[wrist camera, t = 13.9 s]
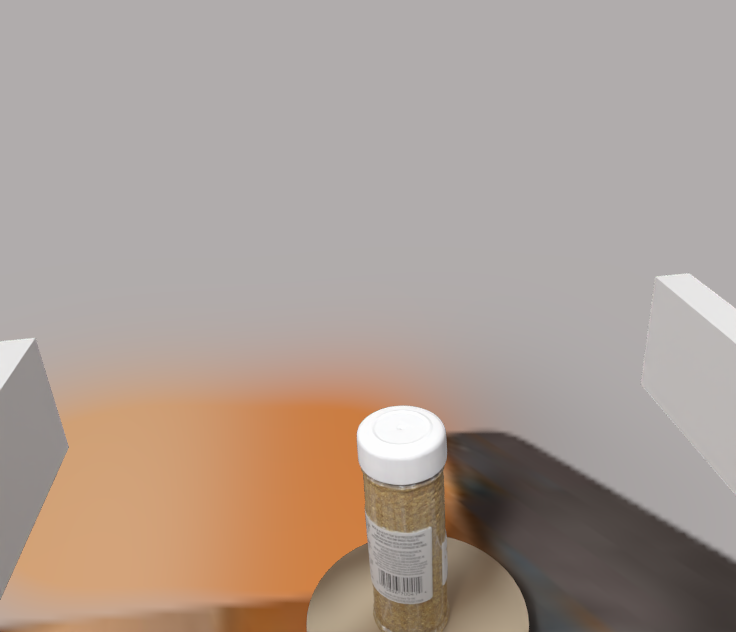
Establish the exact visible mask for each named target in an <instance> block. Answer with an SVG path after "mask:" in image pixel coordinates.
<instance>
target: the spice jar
mask: <svg viewBox="0 0 736 632" xmlns="http://www.w3.org/2000/svg"><path fill="white" fill-rule="evenodd" d="M357 447H358V448H357V449H358V460H359V464H360V466H361V470H362V472H363V479H364V491H365V516H366V527H367V538H368V550H369V562H370V573H371V579H372V585H373V595H374V604H373V616H374V619H375V622H376V624H377V626H378V628H379V629H380V630H381V631H382V632H442V631H443V629H444V627H445V626H446V624H447V621H448V617H449V611H450V607H449V603H448V600H447V581H446V580H447V575H448V561H447V535H446V530H445V504H444V502H445V500H444V475H443V469H444V466H445V462H446V459H447V442H446V430H445V427H444V424H443V423H442V421H441V420H440V419H439V418H438V417H437V416H436V415H435V414H433V413H432V412H430V411H428V410H425V409H422V408H419V407H414V406H393V407H387V408H383V409H381V410H378V411H376V412H374V413H372V414H370V415H369V416H367V417H366V418H365V419H364V420H363V421H362V422H361V424H360V426H359V428H358V431H357Z"/></svg>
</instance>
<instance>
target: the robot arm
mask: <svg viewBox="0 0 736 632" xmlns="http://www.w3.org/2000/svg"><path fill="white" fill-rule="evenodd" d="M641 385H642V387H643V388H644V389H645V390H646V391H647V393H649V395H650V396H651V397H652V398H653V399H654V401H655V402H656V403H657V404H658V405H659V407H660V408H661V409H662V410H663V411H664V412H665V413H666V415H667V416H668V417H669V418H670V419H671V421H672V422H673V423H674V424H675V425H676V426H677V428H678V429H679V430H680V431H681V432H682V433H683V435H684V436H685V437H686V438H687V439H688V440H689V442H690V443H691V444H692V445H693V446H694V447H695V449H696V450H697V451H698V452H699V453H700V454H701V456H702V457H703V458H704V459H705V460H706V461H707V463H708V464H709V465H710V466H711V467H712V468H713V470H714V471H715V472H716V473H717V474H718V475H719V477H720V478H721V479H722V480H723V481H724V483H725V484H726V485H727V486H728V487H729V488H730V490H731V491H732V492H733V493H734V494H735V495H736V308H734V307H733V306H732V305H730V304H729V303H728V302H727V301H725V300H724V299H723V298H721V297H720V296H719V295H717V294H716V293H714V292H713V291H712V290H711V289H709V288H708V287H706V286H705V285H704V284H703V283H701V282H700V281H699V280H697V279H696V278H695V277H693V276H692V275H691V274H689V273H687V274H677V275H667V276H658V277H655V283H654V290H653V297H652V305H651V312H650V320H649V327H648V335H647V341H646V348H645V356H644V363H643V370H642V378H641ZM68 448H69V446H68V443H67V440H66V437H65V434H64V430H63V427H62V424H61V421H60V417H59V414H58V410H57V407H56V404H55V401H54V397H53V394H52V391H51V388H50V384H49V381H48V378H47V375H46V371H45V368H44V365H43V362H42V358H41V355H40V352H39V349H38V345H37V342H36V339H35V338H29V339H20V340H10V341H0V599H1V597H2V595H3V593H4V590H5V588H6V586H7V584H8V581H9V579H10V577H11V575H12V573H13V570H14V568H15V566H16V564H17V561H18V559H19V557H20V554H21V553H22V550H23V548H24V546H25V543H26V541H27V539H28V537H29V534H30V532H31V530H32V528H33V526H34V524H35V521H36V519H37V517H38V514H39V512H40V510H41V508H42V506H43V503H44V501H45V499H46V497H47V494H48V492H49V490H50V488H51V486H52V483H53V481H54V479H55V477H56V474H57V472H58V470H59V468H60V466H61V463H62V461H63V459H64V456H65V454H66V452H67V450H68Z"/></svg>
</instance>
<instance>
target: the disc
mask: <svg viewBox="0 0 736 632" xmlns="http://www.w3.org/2000/svg"><path fill="white" fill-rule="evenodd" d="M447 561H448V575H447V580H446V581H447V600H448V603H449V607H450V611H449V617H448V621H447V624H446V626H445V627H444V629H443V631H442V632H529V619H528V612H527V608H526V604H525V600H524V598H523V596H522V593H521V591H520V589H519V587H518V586H517V584H516V583H515V581H514V579H513V578H512V577H511V576H510V574H509V573H508V572H507V571H506V570H505V569H504V568H503V567H502V566H501V565H500V564H499V563H498V562H497V561H496V560H494V559H493V558H492V557H490V556H489V555H488V554H486V553H485V552H483V551H481V550H480V549H478V548H476V547H474V546H472V545H470V544H467V543H465V542H462V541H459V540H456V539H453V538H449V537H447ZM373 604H374V595H373V585H372V579H371V573H370V562H369V550H368V543H366V544H364V545H362V546H360V547H358V548H356V549H354V550H353V551H351V552H349V553H348V554H346V555H345V556H343V557H342V558H341V559H340V560H338V561H337V562H336V563H335V564H334V565H333V566H332V567H331V568H330V569H329V570H328V571H327V572H326V574H325V575H324V576H323V578H322V579H321V580H320V582H319V584H318V585H317V587H316V589H315V590H314V593H313V595H312V598H311V600H310V604H309V608H308V612H307V624H306V625H307V632H382V631H381V630H380V629H379V628H378V626H377V624H376V622H375V619H374V616H373Z"/></svg>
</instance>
